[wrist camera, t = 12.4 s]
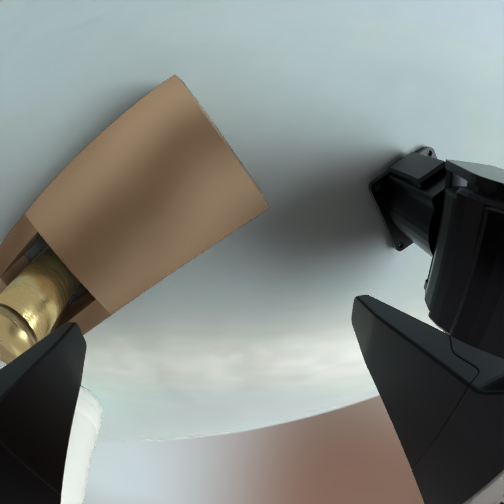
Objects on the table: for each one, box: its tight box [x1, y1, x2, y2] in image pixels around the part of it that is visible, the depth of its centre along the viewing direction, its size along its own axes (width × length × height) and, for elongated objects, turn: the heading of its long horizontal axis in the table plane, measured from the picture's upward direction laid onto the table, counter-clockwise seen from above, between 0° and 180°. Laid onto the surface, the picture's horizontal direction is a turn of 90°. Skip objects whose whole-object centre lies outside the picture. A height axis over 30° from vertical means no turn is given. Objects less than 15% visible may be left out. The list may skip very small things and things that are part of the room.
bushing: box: [0, 245, 81, 364], centre depth 17 cm, size 4×4×10 cm
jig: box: [0, 74, 269, 335], centre depth 19 cm, size 9×20×4 cm, turn 123°
